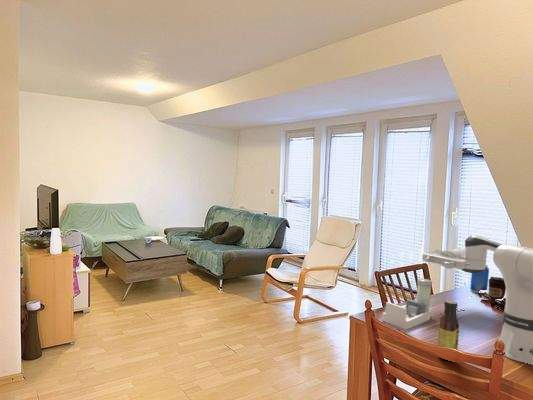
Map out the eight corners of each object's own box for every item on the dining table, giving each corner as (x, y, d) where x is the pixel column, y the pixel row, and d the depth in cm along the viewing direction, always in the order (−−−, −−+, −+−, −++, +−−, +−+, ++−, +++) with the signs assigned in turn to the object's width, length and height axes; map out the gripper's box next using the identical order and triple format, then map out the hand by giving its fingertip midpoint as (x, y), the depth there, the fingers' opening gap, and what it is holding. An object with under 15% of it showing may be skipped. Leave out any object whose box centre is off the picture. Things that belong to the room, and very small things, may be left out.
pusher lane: (429, 319, 172) (431, 300, 171) (406, 329, 159) (408, 309, 158) (406, 311, 180) (407, 293, 180) (382, 320, 167) (383, 301, 167)
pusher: (424, 317, 172) (425, 304, 171) (420, 318, 169) (421, 306, 169) (407, 311, 178) (408, 299, 178) (402, 312, 176) (403, 300, 175)
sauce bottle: (458, 363, 132) (464, 306, 130) (439, 360, 133) (444, 304, 131) (453, 354, 138) (458, 300, 137) (434, 352, 139) (439, 298, 138)
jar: (431, 314, 178) (434, 281, 177) (425, 317, 174) (428, 283, 173) (418, 310, 183) (421, 278, 182) (412, 312, 179) (415, 279, 178)
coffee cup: (501, 306, 196) (504, 281, 195) (483, 301, 202) (486, 277, 201) (507, 303, 201) (510, 279, 201) (490, 298, 208) (492, 275, 207)
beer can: (487, 292, 221) (489, 264, 219) (486, 295, 214) (489, 267, 212) (470, 289, 225) (473, 261, 224) (469, 292, 218) (471, 264, 217)
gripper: (470, 270, 186) (458, 273, 177) (429, 261, 202) (416, 264, 193) (472, 257, 186) (459, 260, 177) (430, 249, 201) (417, 251, 192)
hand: (436, 262), depth 185 cm, fingers open, 8 cm apart
